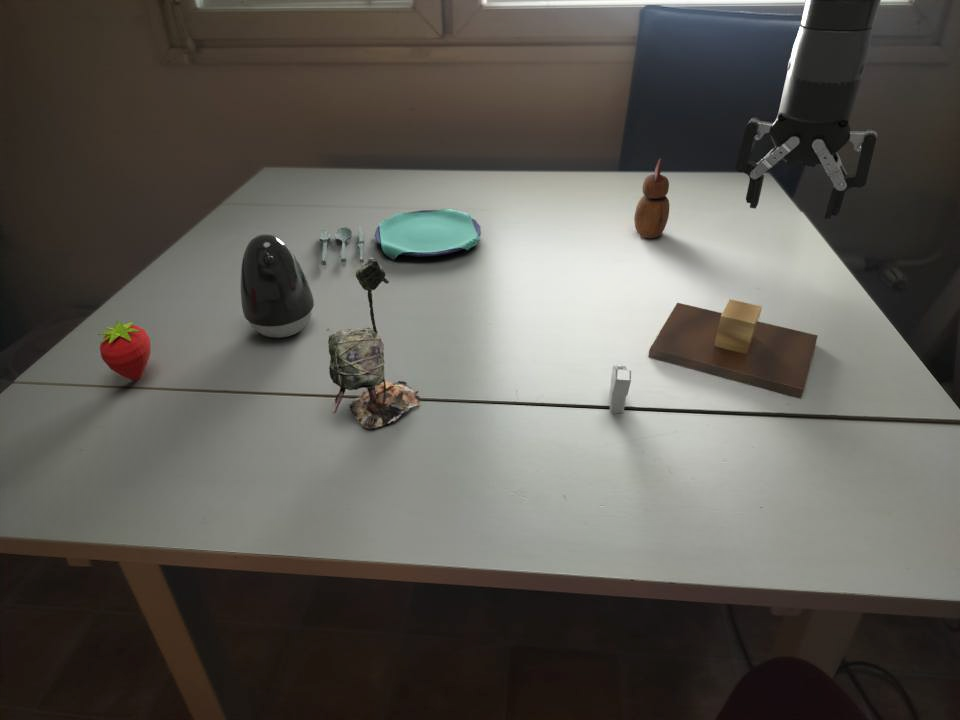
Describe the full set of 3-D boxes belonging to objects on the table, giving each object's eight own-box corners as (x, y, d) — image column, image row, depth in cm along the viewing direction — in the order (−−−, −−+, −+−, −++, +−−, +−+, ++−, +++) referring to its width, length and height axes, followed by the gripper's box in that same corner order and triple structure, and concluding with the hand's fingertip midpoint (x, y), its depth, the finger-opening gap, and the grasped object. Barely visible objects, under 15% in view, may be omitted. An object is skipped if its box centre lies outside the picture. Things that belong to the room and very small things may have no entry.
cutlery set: (489, 258, 119) (489, 247, 117) (319, 274, 115) (316, 262, 114) (472, 214, 135) (472, 204, 133) (321, 227, 131) (320, 216, 130)
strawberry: (166, 360, 95) (144, 300, 89) (155, 393, 89) (131, 329, 83) (122, 366, 94) (97, 305, 88) (108, 399, 88) (80, 335, 82)
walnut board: (815, 344, 95) (817, 335, 94) (800, 398, 85) (804, 389, 84) (675, 310, 103) (677, 302, 102) (648, 357, 93) (649, 348, 92)
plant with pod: (327, 400, 87) (300, 262, 75) (411, 381, 90) (397, 245, 78) (338, 440, 80) (310, 296, 69) (428, 418, 83) (416, 276, 72)
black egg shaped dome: (253, 354, 96) (227, 258, 87) (245, 319, 104) (221, 228, 95) (323, 338, 99) (306, 244, 90) (311, 305, 106) (294, 216, 98)
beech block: (754, 336, 94) (762, 306, 91) (747, 354, 91) (755, 323, 88) (722, 329, 96) (729, 298, 93) (714, 346, 92) (721, 315, 89)
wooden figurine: (658, 244, 122) (670, 163, 113) (628, 238, 124) (637, 158, 116) (669, 230, 127) (681, 152, 118) (640, 224, 129) (650, 147, 120)
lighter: (609, 391, 87) (615, 341, 82) (623, 392, 87) (629, 342, 82) (609, 427, 81) (616, 375, 77) (624, 428, 81) (631, 376, 76)
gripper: (899, 69, 72) (856, 210, 82) (762, 60, 78) (736, 192, 88) (897, 84, 67) (851, 233, 76) (750, 73, 73) (723, 213, 82)
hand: (789, 211), depth 82 cm, fingers open, 8 cm apart
